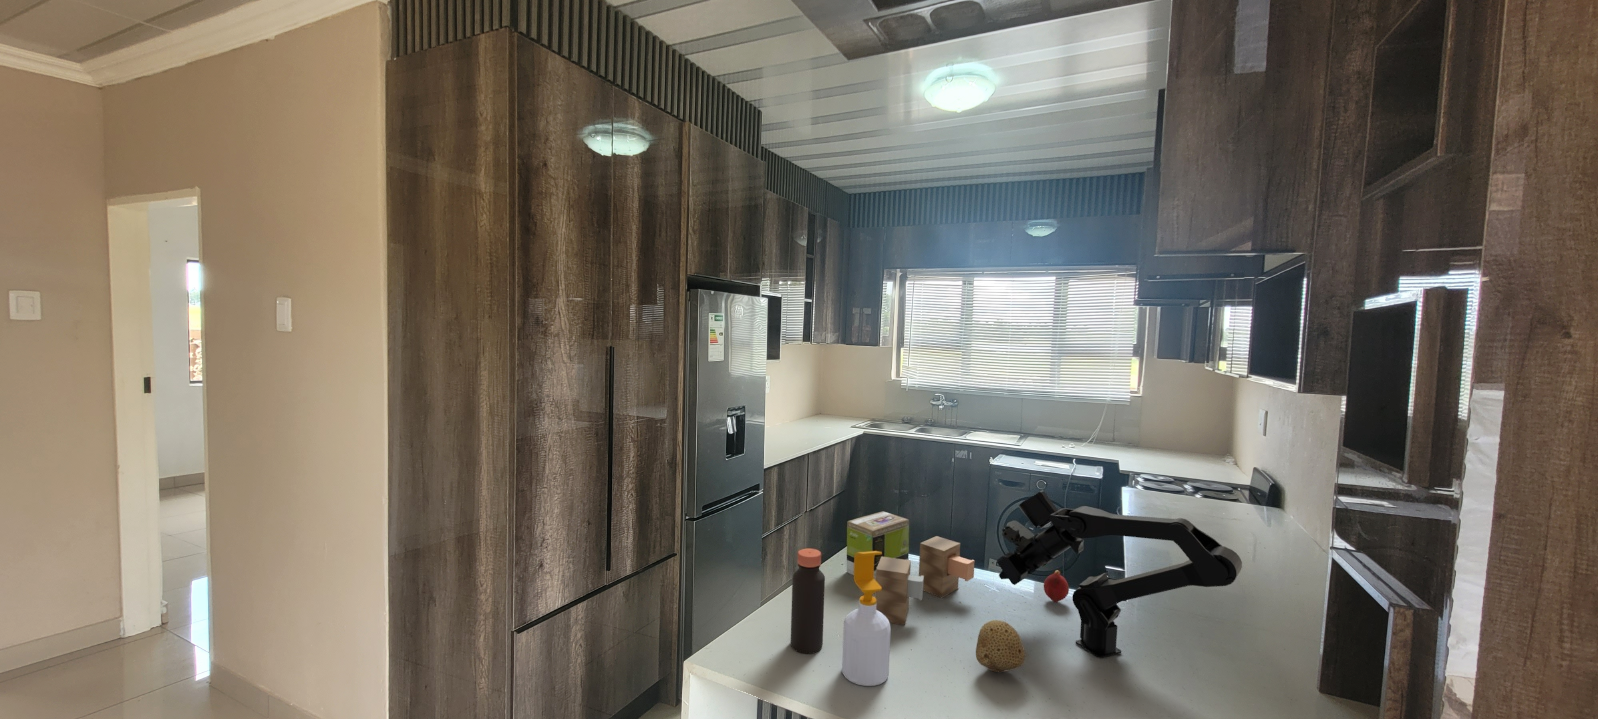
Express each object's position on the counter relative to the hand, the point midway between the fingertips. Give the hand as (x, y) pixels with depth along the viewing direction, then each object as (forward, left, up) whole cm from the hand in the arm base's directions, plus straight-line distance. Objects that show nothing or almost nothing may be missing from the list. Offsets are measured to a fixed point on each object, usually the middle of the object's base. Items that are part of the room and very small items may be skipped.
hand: (1000, 576), depth 144 cm
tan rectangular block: (+11, +5, -3) cm, 12 cm away
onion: (-1, -17, -9) cm, 19 cm away
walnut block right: (+15, +7, -8) cm, 19 cm away
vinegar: (0, +50, -9) cm, 51 cm away
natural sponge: (-21, +17, -9) cm, 28 cm away
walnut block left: (+7, +26, -8) cm, 28 cm away
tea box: (+29, +17, -9) cm, 35 cm away
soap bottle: (-13, +43, -9) cm, 46 cm away
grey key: (+5, +23, -3) cm, 24 cm away
